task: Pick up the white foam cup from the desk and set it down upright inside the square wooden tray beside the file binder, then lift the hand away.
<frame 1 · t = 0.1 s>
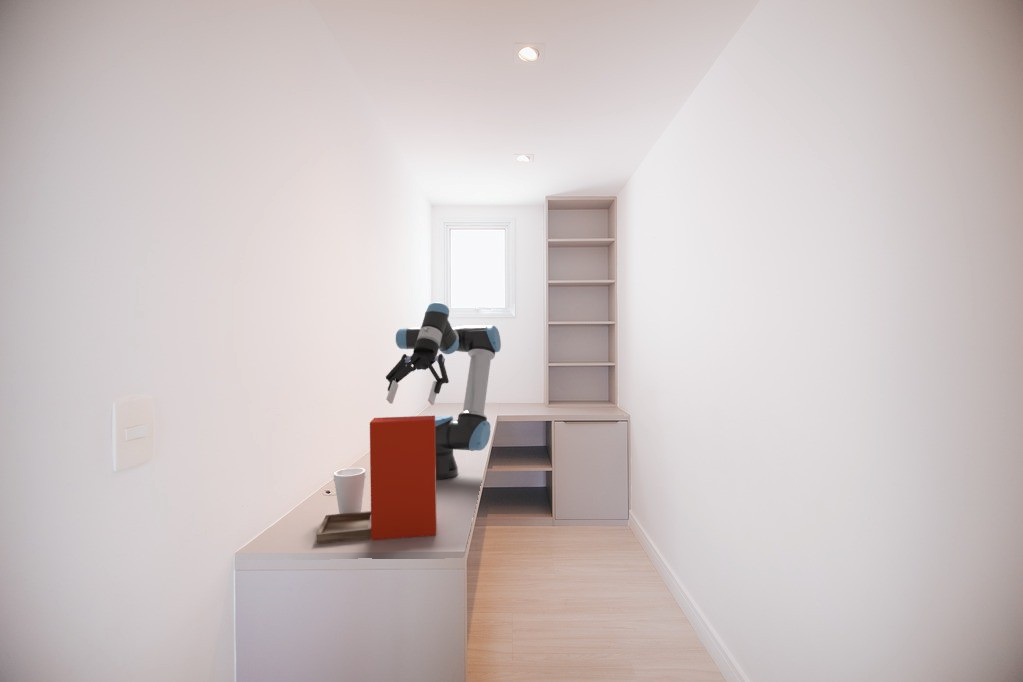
hand: (409, 402, 132), 36 cm above the table, tool tilted 35°, fingers open, 13 cm apart
foam cup: (350, 513, 141), on the table
square wooden tray: (347, 530, 128), on the table
file binder: (405, 532, 126), on the table
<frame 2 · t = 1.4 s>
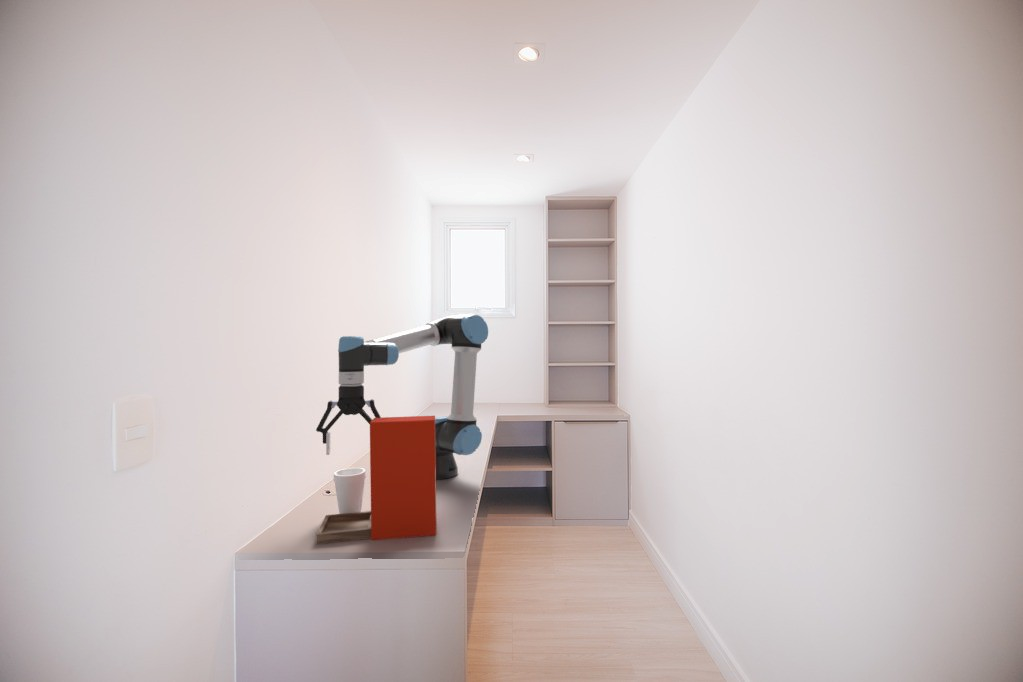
hand: (351, 452, 141), 19 cm above the table, tool pointing down, fingers open, 13 cm apart
nothing on the table moved.
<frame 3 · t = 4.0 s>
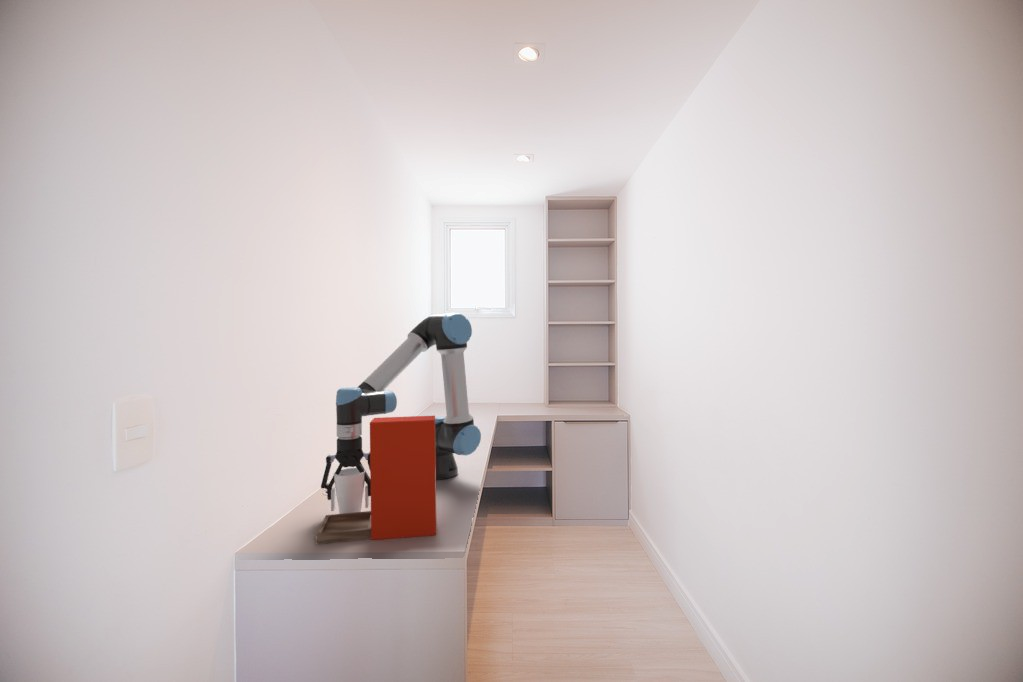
hand: (350, 508, 141), 2 cm above the table, tool pointing down, fingers closed on foam cup, 9 cm apart
foam cup: (350, 513, 141), on the table, touching gripper
everything else where it was.
when the fingers open (4 cm above the table, at t = 10.0 s): foam cup drops 1 cm, resting on square wooden tray.
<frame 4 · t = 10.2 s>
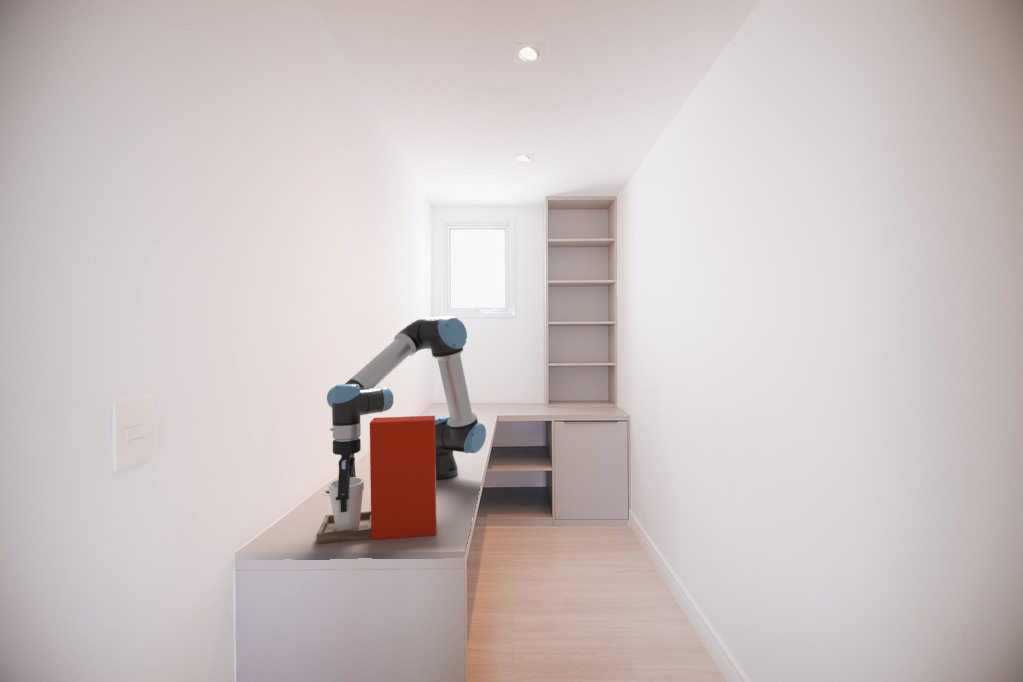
hand: (347, 514, 128), 5 cm above the table, tool pointing down, fingers open, 12 cm apart
foam cup: (347, 528, 128), point 1 cm above the table, touching square wooden tray
everything else where it was.
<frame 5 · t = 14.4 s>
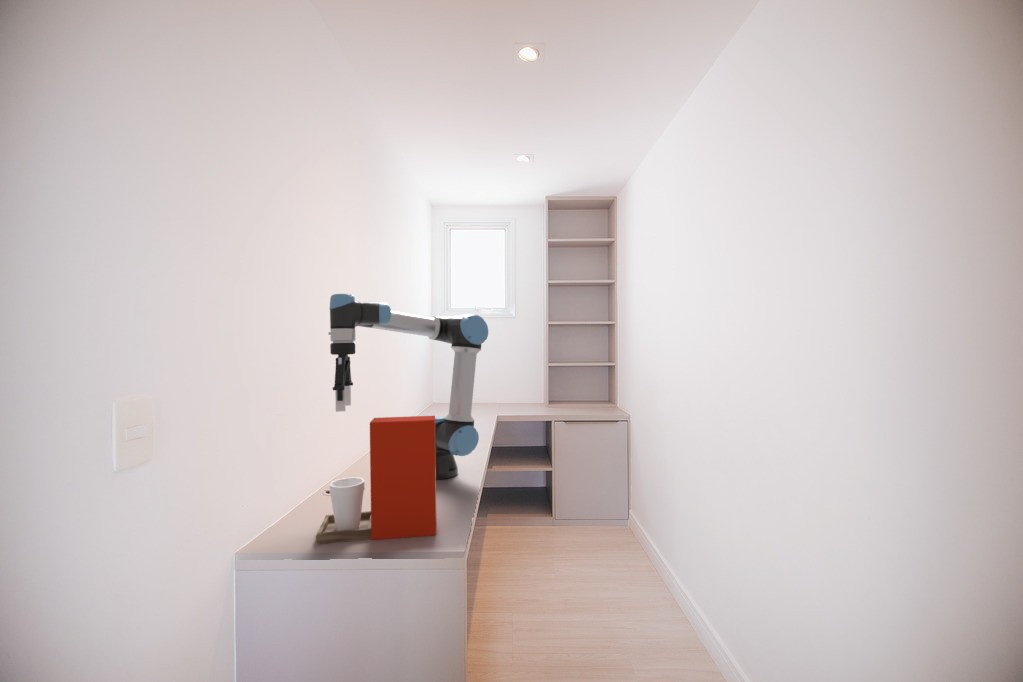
hand: (343, 408, 144), 33 cm above the table, tool pointing down, fingers open, 13 cm apart
nothing on the table moved.
at the end: foam cup 0.0 cm off-centre on the square wooden tray, point 0.6 cm above the square wooden tray's base; foam cup tilted 0°; the gripper is holding nothing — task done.
